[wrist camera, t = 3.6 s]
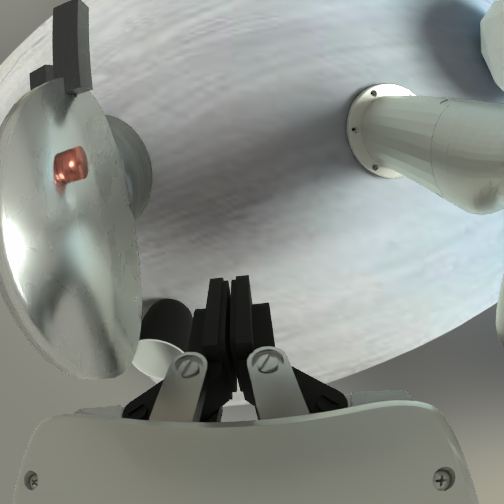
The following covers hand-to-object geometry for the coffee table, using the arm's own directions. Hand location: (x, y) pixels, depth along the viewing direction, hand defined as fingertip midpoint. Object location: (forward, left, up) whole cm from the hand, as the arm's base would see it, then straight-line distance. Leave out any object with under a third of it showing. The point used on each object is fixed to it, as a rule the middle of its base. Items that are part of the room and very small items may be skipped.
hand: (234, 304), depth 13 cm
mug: (+13, +22, -24) cm, 35 cm away
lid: (+9, -6, -5) cm, 12 cm away
